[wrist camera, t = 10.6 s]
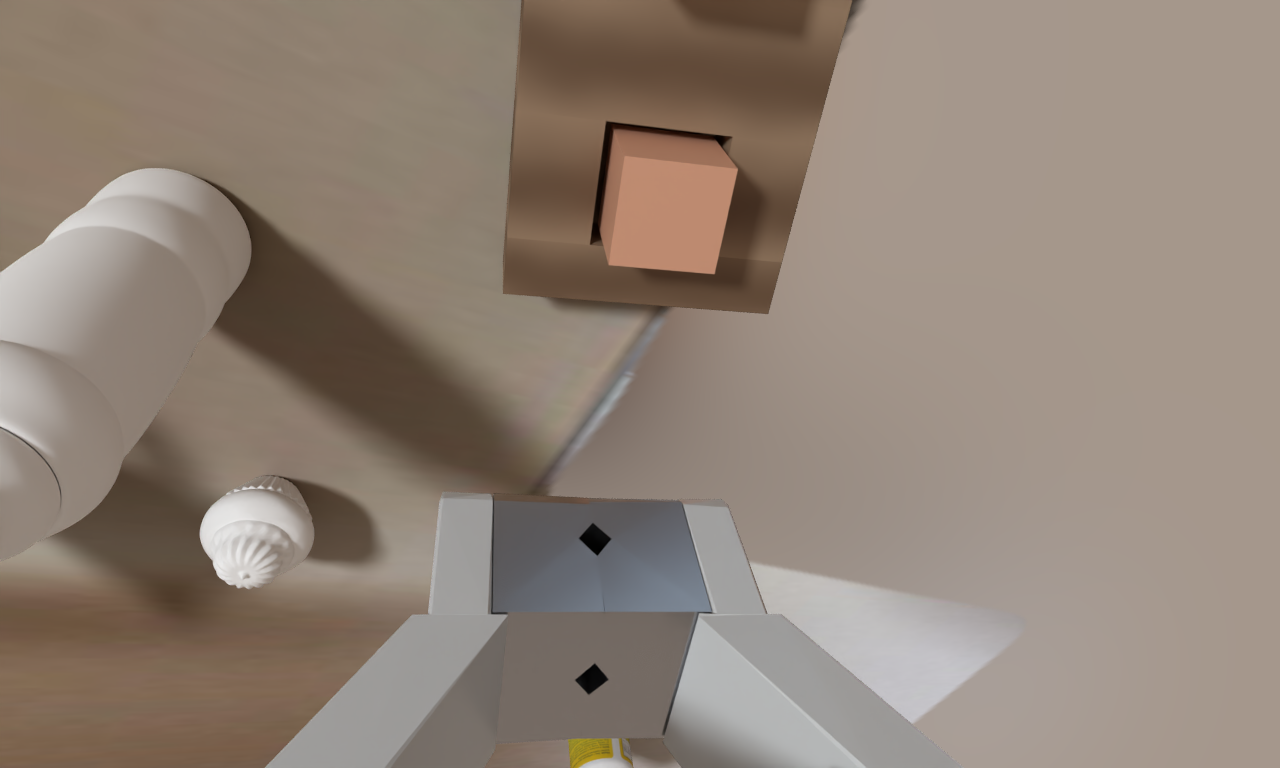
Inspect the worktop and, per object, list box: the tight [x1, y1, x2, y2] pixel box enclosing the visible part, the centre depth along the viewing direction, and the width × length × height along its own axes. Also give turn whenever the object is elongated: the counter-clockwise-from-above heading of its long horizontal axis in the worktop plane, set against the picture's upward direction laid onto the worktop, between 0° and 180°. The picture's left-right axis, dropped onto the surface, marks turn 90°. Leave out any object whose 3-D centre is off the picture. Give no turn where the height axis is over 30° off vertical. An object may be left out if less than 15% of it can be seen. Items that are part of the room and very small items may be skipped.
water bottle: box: [0, 168, 251, 561], centre depth 30 cm, size 7×7×25 cm
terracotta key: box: [598, 124, 738, 274], centre depth 37 cm, size 5×5×5 cm
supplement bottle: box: [568, 738, 633, 768], centre depth 62 cm, size 5×5×8 cm
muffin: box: [200, 475, 314, 589], centre depth 47 cm, size 6×6×7 cm
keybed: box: [503, 0, 852, 314], centre depth 37 cm, size 24×14×4 cm, turn 171°
